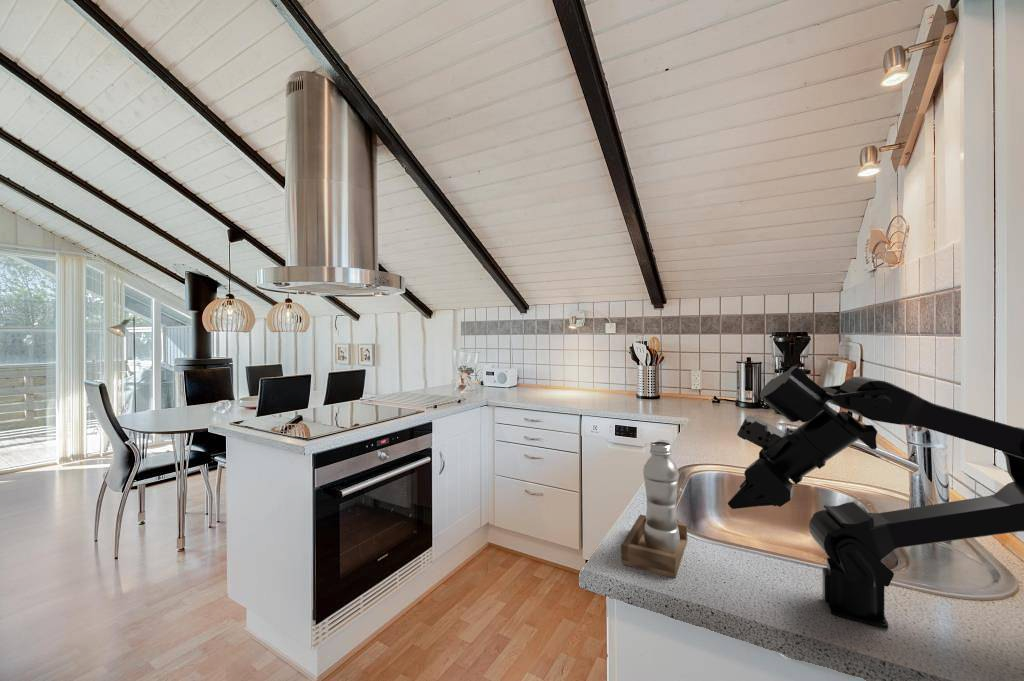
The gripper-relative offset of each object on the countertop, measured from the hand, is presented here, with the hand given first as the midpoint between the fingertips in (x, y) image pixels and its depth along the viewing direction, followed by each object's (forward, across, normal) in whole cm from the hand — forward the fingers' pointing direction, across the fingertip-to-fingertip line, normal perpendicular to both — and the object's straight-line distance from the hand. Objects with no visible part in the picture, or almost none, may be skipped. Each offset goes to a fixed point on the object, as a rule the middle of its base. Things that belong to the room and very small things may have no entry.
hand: (736, 497), depth 71 cm
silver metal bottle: (+18, +1, 0) cm, 18 cm away
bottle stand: (+19, +1, 0) cm, 19 cm away
